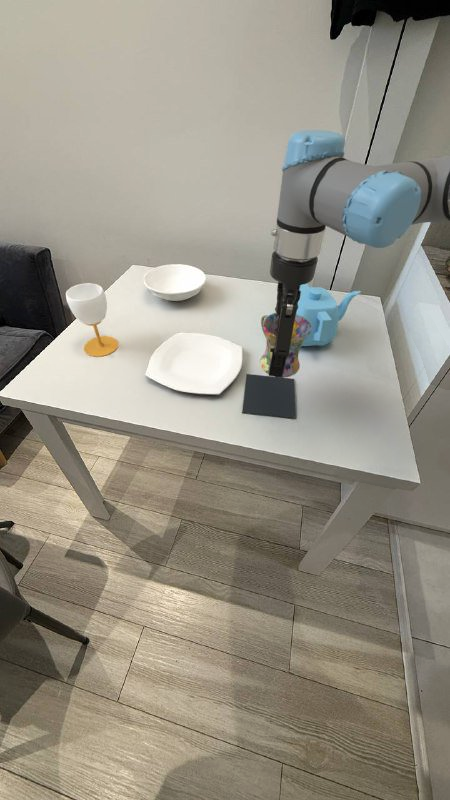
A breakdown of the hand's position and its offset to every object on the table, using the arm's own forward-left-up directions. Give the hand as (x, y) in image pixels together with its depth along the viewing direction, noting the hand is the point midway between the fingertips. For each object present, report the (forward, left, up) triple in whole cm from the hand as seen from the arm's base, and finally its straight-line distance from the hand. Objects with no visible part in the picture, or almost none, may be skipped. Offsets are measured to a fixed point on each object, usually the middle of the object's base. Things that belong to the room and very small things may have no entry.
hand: (275, 360), depth 70 cm
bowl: (+42, +32, -11) cm, 54 cm away
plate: (+8, +19, -11) cm, 23 cm away
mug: (+1, 0, -2) cm, 2 cm away
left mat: (0, 0, -11) cm, 11 cm away
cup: (+12, +46, -11) cm, 49 cm away
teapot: (+26, -11, -11) cm, 30 cm away
